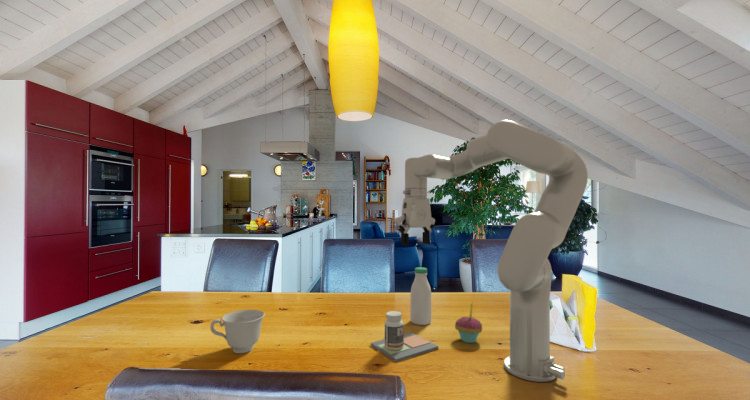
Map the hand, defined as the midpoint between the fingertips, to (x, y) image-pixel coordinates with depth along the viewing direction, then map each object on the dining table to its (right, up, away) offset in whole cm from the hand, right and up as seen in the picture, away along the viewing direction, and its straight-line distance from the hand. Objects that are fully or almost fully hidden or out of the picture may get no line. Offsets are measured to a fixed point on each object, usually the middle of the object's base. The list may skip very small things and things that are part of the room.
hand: (415, 244), depth 112 cm
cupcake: (+16, -30, -6) cm, 35 cm away
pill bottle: (-8, -29, -14) cm, 33 cm away
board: (-5, -30, -12) cm, 32 cm away
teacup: (-55, -30, -14) cm, 64 cm away
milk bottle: (+3, -31, +10) cm, 32 cm away
